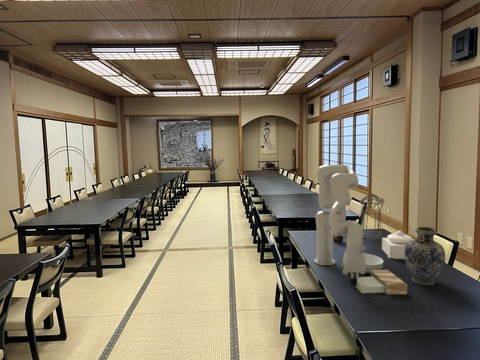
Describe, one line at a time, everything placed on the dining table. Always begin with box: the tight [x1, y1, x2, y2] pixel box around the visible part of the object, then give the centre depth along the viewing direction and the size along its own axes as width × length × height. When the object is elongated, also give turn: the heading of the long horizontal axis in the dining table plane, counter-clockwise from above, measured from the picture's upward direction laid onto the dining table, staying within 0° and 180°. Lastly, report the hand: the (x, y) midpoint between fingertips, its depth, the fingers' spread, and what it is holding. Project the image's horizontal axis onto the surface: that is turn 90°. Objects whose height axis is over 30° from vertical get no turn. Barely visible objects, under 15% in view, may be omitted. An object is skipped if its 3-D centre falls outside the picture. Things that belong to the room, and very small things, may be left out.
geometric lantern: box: [358, 193, 385, 242], centre depth 252 cm, size 16×16×35 cm
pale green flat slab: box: [355, 276, 386, 294], centre depth 170 cm, size 12×16×3 cm
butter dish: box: [381, 230, 414, 260], centre depth 219 cm, size 18×18×16 cm
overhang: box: [370, 269, 408, 296], centre depth 171 cm, size 17×10×5 cm, turn 3°
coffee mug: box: [333, 234, 347, 244], centre depth 247 cm, size 12×9×10 cm
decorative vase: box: [404, 226, 446, 287], centre depth 176 cm, size 21×19×28 cm
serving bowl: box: [364, 253, 384, 274], centre depth 193 cm, size 21×21×7 cm
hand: (353, 285), depth 170 cm, fingers closed
